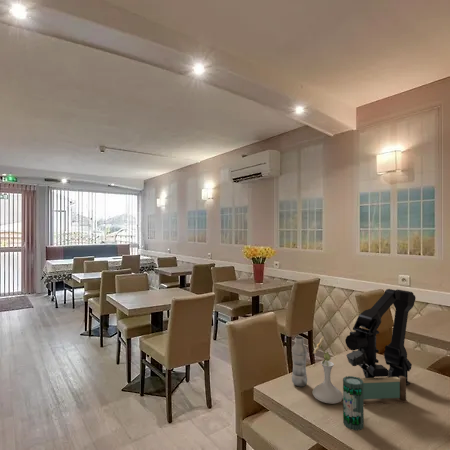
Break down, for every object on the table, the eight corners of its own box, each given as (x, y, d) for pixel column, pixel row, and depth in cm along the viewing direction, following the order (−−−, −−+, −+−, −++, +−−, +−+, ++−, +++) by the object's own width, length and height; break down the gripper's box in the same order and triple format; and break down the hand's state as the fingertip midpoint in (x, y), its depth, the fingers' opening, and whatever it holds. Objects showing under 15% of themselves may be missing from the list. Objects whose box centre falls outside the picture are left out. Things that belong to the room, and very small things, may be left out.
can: (340, 423, 108) (340, 379, 108) (350, 417, 112) (349, 374, 112) (356, 432, 103) (356, 386, 104) (366, 425, 107) (366, 381, 107)
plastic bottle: (305, 381, 138) (305, 335, 138) (308, 389, 131) (308, 340, 131) (290, 380, 139) (290, 334, 139) (292, 388, 132) (292, 340, 132)
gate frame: (402, 398, 124) (402, 375, 124) (408, 402, 121) (408, 379, 121) (355, 400, 123) (354, 377, 123) (359, 404, 120) (358, 381, 120)
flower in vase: (321, 388, 132) (321, 328, 132) (348, 398, 124) (347, 334, 124) (304, 400, 123) (304, 335, 123) (332, 412, 115) (331, 343, 115)
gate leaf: (397, 395, 123) (397, 376, 123) (400, 398, 121) (400, 379, 121) (361, 397, 122) (361, 378, 122) (363, 399, 120) (363, 380, 120)
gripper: (339, 338, 137) (339, 374, 137) (361, 355, 119) (361, 397, 118) (363, 337, 138) (363, 373, 138) (389, 354, 119) (389, 395, 119)
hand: (368, 384), depth 128 cm, fingers closed
